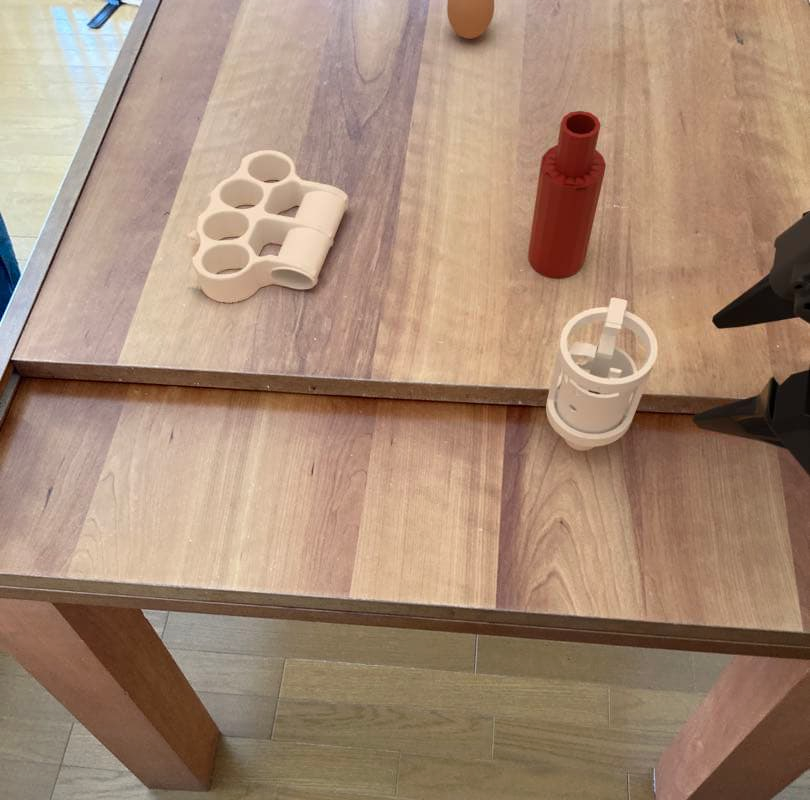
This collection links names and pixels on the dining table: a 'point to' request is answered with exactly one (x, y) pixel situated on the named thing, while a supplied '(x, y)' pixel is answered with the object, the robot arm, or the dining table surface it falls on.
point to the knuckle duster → (265, 229)
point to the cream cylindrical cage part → (598, 379)
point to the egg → (470, 16)
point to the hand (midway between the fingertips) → (705, 371)
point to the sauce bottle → (567, 198)
